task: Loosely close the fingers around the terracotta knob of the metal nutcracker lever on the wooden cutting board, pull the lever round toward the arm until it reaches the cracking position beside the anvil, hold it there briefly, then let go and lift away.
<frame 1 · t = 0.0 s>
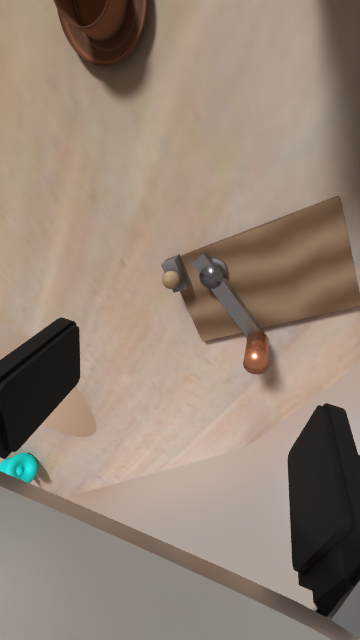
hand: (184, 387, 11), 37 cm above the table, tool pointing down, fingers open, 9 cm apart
wooden cutting board: (259, 279, 46), on the table
lever: (229, 312, 43), point 7 cm above the table, hinge at 0.0°
donuts: (27, 457, 98), on the table
cup and saucer: (108, 8, 36), on the table
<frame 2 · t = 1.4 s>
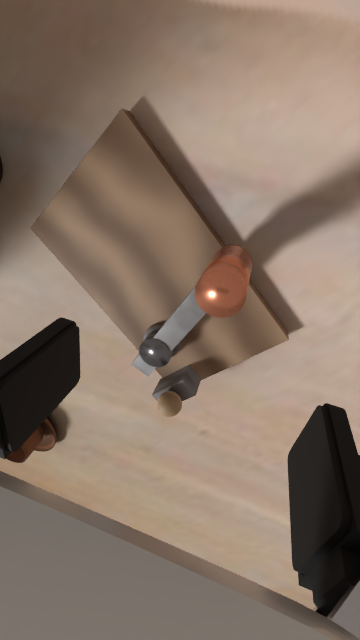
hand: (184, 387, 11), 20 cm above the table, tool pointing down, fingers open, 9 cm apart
wooden cutting board: (159, 277, 32), on the table
lever: (176, 332, 26), point 7 cm above the table, hinge at 0.0°
cup and saucer: (34, 419, 53), on the table
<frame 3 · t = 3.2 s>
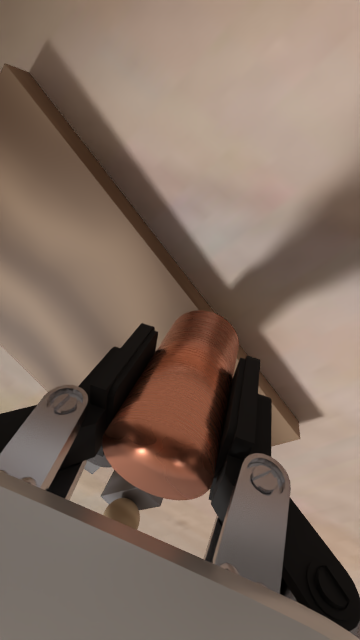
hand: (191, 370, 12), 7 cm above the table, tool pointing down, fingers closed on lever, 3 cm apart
wooden cutting board: (105, 332, 21), on the table
lever: (114, 444, 16), point 7 cm above the table, hinge at 0.0°, touching gripper
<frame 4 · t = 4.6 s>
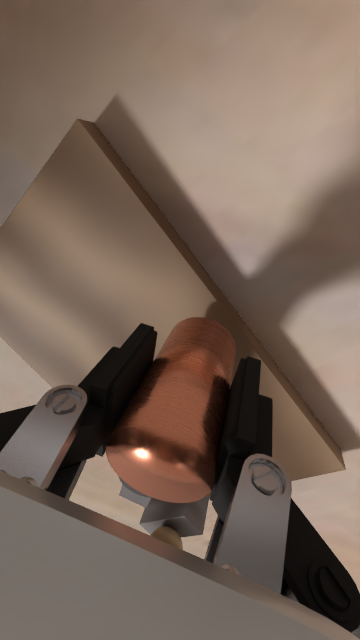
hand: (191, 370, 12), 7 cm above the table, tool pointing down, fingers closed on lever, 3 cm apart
wooden cutting board: (148, 364, 21), on the table
lever: (148, 469, 16), point 7 cm above the table, hinge at 17.6°, touching gripper
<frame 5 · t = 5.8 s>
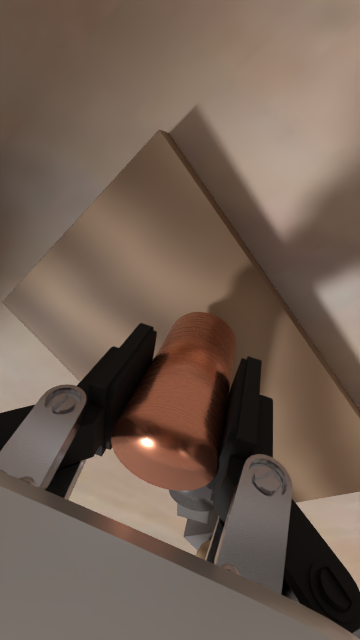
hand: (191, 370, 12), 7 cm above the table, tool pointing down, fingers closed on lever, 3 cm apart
wooden cutting board: (198, 375, 21), on the table
lever: (187, 476, 16), point 7 cm above the table, hinge at 35.1°, touching gripper
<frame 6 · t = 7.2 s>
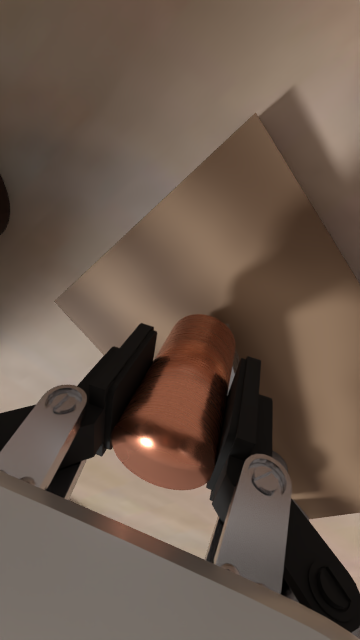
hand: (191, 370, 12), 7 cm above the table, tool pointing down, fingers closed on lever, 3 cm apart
wooden cutting board: (260, 378, 20), on the table
lever: (232, 482, 15), point 7 cm above the table, hinge at 54.4°, touching gripper
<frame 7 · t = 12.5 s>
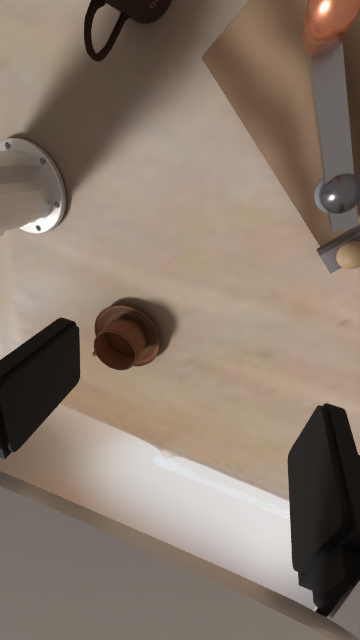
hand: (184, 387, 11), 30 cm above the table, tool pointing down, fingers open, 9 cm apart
wooden cutting board: (343, 112, 29), on the table
lever: (339, 128, 24), point 7 cm above the table, hinge at 54.7°
cup and saucer: (131, 331, 50), on the table
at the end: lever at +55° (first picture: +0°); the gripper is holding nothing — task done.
